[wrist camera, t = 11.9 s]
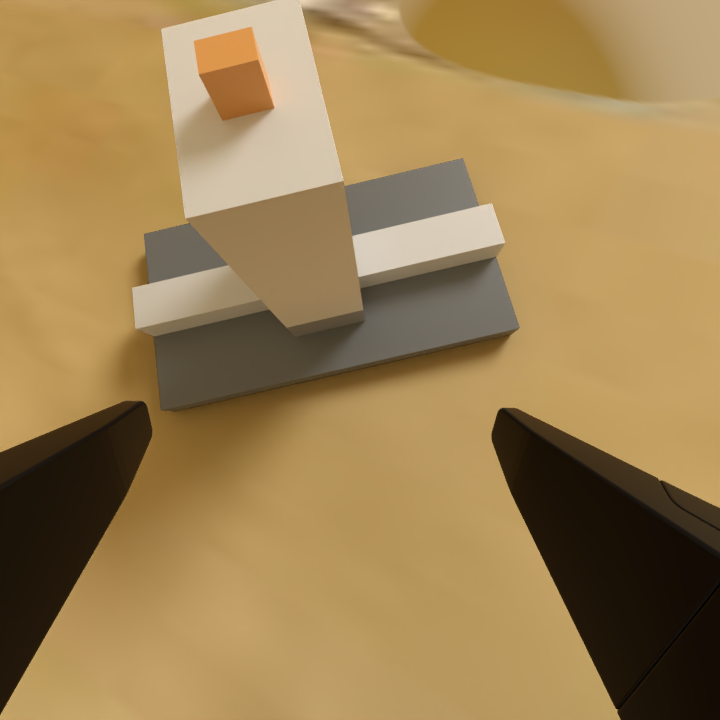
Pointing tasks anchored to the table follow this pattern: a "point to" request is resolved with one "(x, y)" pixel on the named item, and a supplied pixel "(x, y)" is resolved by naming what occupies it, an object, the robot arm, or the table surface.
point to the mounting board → (377, 285)
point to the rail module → (264, 161)
